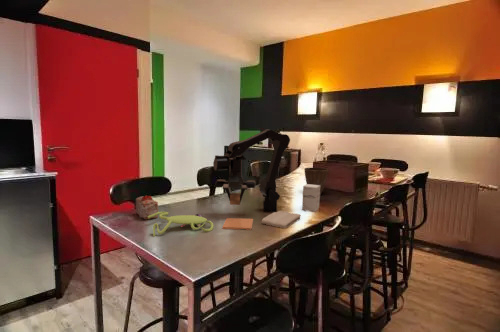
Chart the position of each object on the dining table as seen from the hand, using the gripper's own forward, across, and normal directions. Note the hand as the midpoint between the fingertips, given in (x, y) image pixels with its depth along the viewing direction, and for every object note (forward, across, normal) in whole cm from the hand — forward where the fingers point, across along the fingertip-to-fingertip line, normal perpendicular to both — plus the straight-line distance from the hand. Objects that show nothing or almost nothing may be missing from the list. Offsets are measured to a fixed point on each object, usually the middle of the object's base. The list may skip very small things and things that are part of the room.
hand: (235, 201), depth 142 cm
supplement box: (+7, +38, +13) cm, 41 cm away
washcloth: (+7, +22, -8) cm, 25 cm away
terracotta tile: (+6, +3, -15) cm, 17 cm away
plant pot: (+7, +46, +50) cm, 68 cm away
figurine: (+7, -21, -21) cm, 31 cm away
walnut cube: (+1, 0, 0) cm, 1 cm away
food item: (+7, -41, -8) cm, 42 cm away
